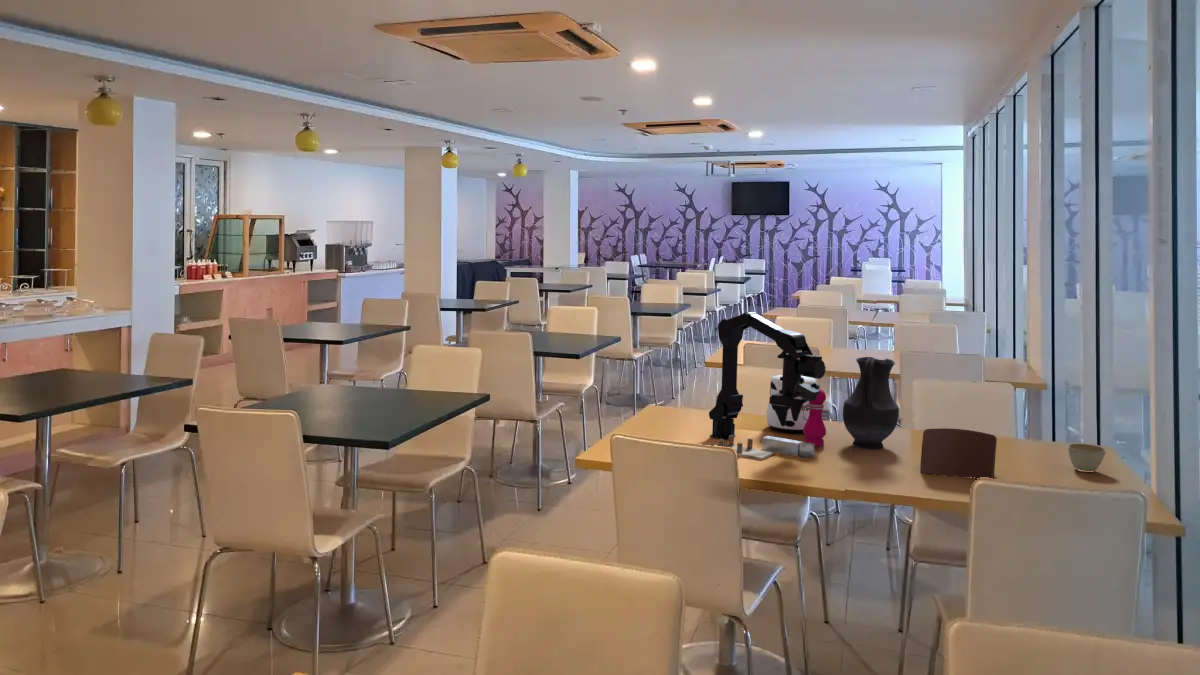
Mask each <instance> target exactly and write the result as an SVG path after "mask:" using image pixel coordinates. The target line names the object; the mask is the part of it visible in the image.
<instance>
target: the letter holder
mask: <svg viewBox="0 0 1200 675" xmlns="http://www.w3.org/2000/svg"><path fill="white" fill-rule="evenodd" d="M922 434H923V435H922V443H921V452H920V467H919V468H920V469H919V470H920V474H923V473H926V474H925V475H933V474H936V476H942V475H946V476H945V477H952V476H958V477H957V478H961V477H972V478H974V477H975V479H974V480H978V479H977V478H980V477H989V478H994V479H995V467H996V466H995V465H996V452H997V443H998V442H997V440H998V439H997V437H996V435H994V434H990V433H986V432H983V431H982V432H981V431H976V430H971V429H963V428H961V429H960V428H947V427H946V428H945V427H944V428H942V427H941V428H926V429H924V430H923V433H922Z"/></svg>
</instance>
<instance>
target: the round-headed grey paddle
mask: <svg viewBox="0 0 1200 675" xmlns="http://www.w3.org/2000/svg"><path fill="white" fill-rule="evenodd" d="M761 443H762V444H761V445H762V446H761V450H766V451H772V452H775V454H776V453H777V454H781V455H782V454H783V455H787V456H793V457H794V456H795V457H799V458H801V459H814V458H815V444H814V443H811V442H804V441H802V440H795V439H788V438H783V437H778V436H776V437H775V436H771V435H765V436H763V437H762V442H761Z"/></svg>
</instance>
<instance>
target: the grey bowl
mask: <svg viewBox="0 0 1200 675" xmlns="http://www.w3.org/2000/svg"><path fill="white" fill-rule="evenodd" d="M1067 448H1068V455H1069V458H1070V461H1071V463H1072V466H1073V469H1075V468H1077V469H1080V470H1085V471H1095V470H1096V471H1097V470H1098V469H1099V467H1100V465H1102V462H1103V459H1104V458H1105V455H1106V452H1107V451H1106V450H1107V449H1106V448H1104V447H1102V446H1100V445H1095V444H1089V443H1079V442H1078V443H1070V444H1068V446H1067ZM1096 471H1095V472H1096Z"/></svg>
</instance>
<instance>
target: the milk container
mask: <svg viewBox="0 0 1200 675" xmlns="http://www.w3.org/2000/svg"><path fill="white" fill-rule="evenodd" d="M780 377H782V374H777V375H772V376H771V378H770V385H769V386H770V388H769V397H770V396H772V395H773V394H776V393H779V390H781V389H782V381H781V380H780ZM801 377H803V379H804V383H806V384H810V385H811V384H813V383H817V381H816V380H817V379H816V378H811V377H806V376H802V375H801ZM779 394H780V393H779ZM805 399H806V398H805ZM808 403H809V401H807V402H805V403H804V404H803V406H802V408H801V411H800V414H799V417H798V420H797V421H793V417H792V413H791V409H789V410H788V413H787V419H786V424H785V426H781V424H780V421H779V419H778V417H777V414H776V412H775V410H774V408H773V406H771V404H770V403H769V402H768V405H767V409H766V412H765V413H766V414H765V417H766V418H765V419H766V423H767V425H768V426H769V427H770V428H772V429H775V430H777V431H778V430H779V431H782V432H790V433H802V432H803V429H804V426H805V424H806V422H807V420H808V417H809V408H808Z"/></svg>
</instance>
